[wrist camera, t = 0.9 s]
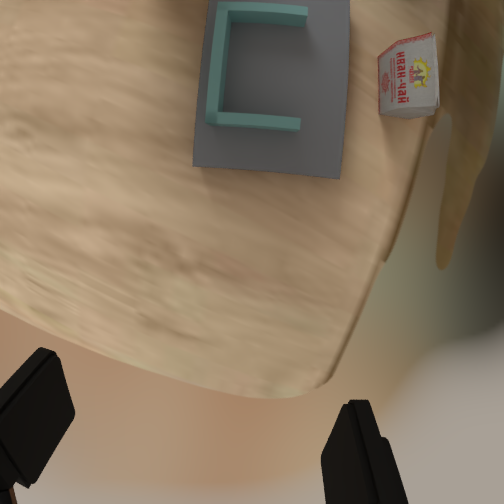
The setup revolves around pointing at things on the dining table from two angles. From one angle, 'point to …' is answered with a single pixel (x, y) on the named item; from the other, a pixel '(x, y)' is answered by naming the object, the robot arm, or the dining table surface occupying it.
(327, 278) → the dining table surface
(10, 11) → the dining table surface
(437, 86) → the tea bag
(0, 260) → the dining table surface
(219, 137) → the dock
